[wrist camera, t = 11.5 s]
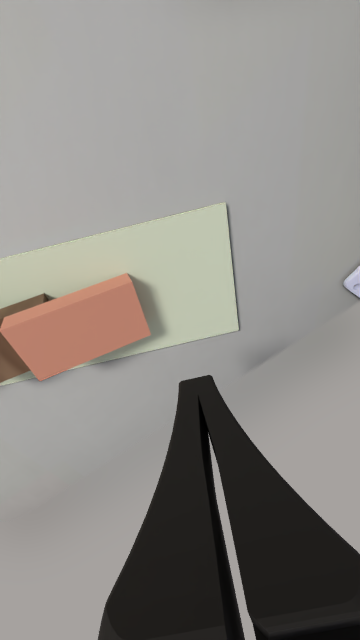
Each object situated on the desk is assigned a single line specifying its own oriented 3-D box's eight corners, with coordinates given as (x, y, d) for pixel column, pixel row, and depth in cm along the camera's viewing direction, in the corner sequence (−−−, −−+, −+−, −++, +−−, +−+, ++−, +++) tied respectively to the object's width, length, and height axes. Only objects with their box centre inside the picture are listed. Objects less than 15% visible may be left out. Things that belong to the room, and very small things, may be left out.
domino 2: (132, 281, 16) (-1, 330, 15) (151, 334, 19) (39, 381, 17) (126, 272, 18) (4, 317, 16) (145, 323, 20) (40, 366, 19)
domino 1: (42, 303, 17) (-96, 353, 15) (73, 353, 19) (-43, 400, 18) (44, 293, 18) (-84, 338, 16) (73, 340, 20) (-35, 383, 19)
